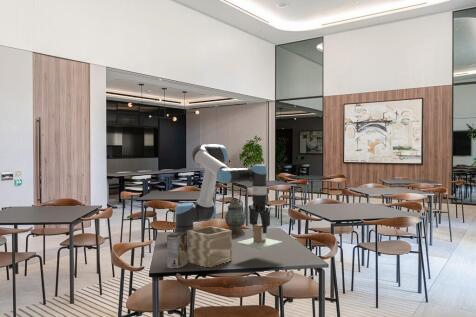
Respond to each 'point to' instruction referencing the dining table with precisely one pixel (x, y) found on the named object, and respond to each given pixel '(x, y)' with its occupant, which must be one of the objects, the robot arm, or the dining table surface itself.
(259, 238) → the lid
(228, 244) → the box
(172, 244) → the coffee box
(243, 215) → the dark green urn
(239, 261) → the dining table surface
